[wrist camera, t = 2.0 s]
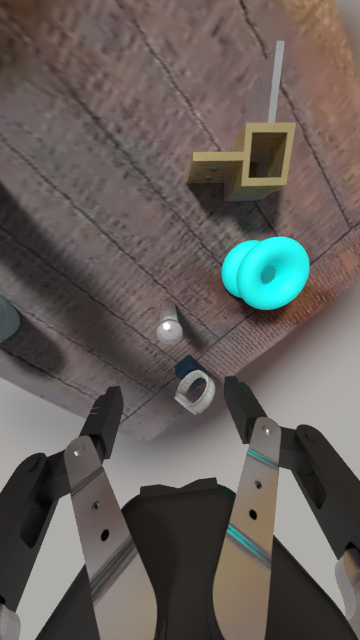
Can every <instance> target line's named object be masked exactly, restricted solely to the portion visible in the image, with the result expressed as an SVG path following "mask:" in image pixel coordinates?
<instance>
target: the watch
mask: <svg viewBox="0 0 360 640" xmlns="http://www.w3.org/2000/svg"><path fill="white" fill-rule="evenodd" d="M175 371H176V376H177V377H179V378H180V379H181V380H182V381H183V382H182V381H181V383H180V385H179V387H178V390H177V391H176V397H174V398H175V399H176V400H177V401H178V402H179V403H180V404H181V405H182V406H183V407H184V408H186V409H187V410H188V411H190V412H191V413H193V414H194V415H196V413H201V412H202V411H203V410H205V409H206V408H207V407H208V406H209V405H210V403H211V402H212V400H213V397H214V394H215V384H214V381H213V380H212V379H211V378H210V377H209V376H208V375H207V373H206V371H205V368H204V367H203V366H201V365H200V364H199V363H198V362H197V361H196V360H195V359H194V358H193V357H191V356H190V355H188V356H187V357H185V358H184V359H183V360H182V361H181V362H179V363H178V364H177V365H176V366H175ZM204 380H206V381H207V387H206V389H205V391H204V393H203V394H202V396H201V397H200V398H199V400H197V401H196V402H195V403H193V402H192V401H191V400H190V399H188V398H187V397H186V394H187V390H188V389H189V387H191V388H192V389H194V388H195V387H197V386H198V385H199V384H200V383H202V382H203V381H204ZM208 398H209V399H208ZM203 401H204V402H203ZM209 401H210V402H209Z"/></svg>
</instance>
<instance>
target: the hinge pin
mask: <svg viewBox="0 0 360 640" xmlns="http://www.w3.org/2000/svg"><path fill="white" fill-rule="evenodd" d="M182 335H183V331H182V327H181V325H180V323H179V322H178V317H177V312H176V306H175V303H174V302H173V301H172V300H169V299H168V300H164V301H163V302H162V304H161V313H160V324H159V325H158V327H157V337H158V339H159V341H160V342H162V343H164V344H167V345H172V344H175V343H177V342H179V341H180V339H181V338H182Z"/></svg>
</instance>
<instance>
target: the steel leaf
mask: <svg viewBox="0 0 360 640" xmlns="http://www.w3.org/2000/svg"><path fill="white" fill-rule="evenodd" d="M284 42H285V41H277V42H276V43H275V45H274V47H273V49H272V51H271V53H270V55H269V57H268V59H267V60H266V62H265V64H264V66H263V68H262V70H261V72H260V74H259V76H258V78H257V79H256V81H255V83H254V85H253V87H252V89H251V91H250V93H249V95H248V96H247V98H246V106H245V120H244V125H245V124H246V123H275V116H276V108H277V99H278V91H279V83H280V75H281V67H282V58H283V50H284ZM228 152H234V143H233V145H232V146H231V148H230V149H229V151H228ZM269 157H270V149H251V153H250V162H257V170H256V178H267V173H268V165H269ZM232 174H233V173H232ZM232 174H231V175H230V177H229V178H228V179H227V180H226V181H225V183H224V202H227V201H258V200H260V199H262V198H264V197H266V196H267V195H269V194H246V195H231V191H232Z"/></svg>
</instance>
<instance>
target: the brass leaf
mask: <svg viewBox="0 0 360 640" xmlns="http://www.w3.org/2000/svg"><path fill="white" fill-rule="evenodd" d="M295 125H296V123H246V124H245V125H244V127H243V129H242V130H241V132H240V133H239V135H238V137H237V138H236V140H235V141H234V152H193V154H192V158H191V162H190V165H189V169H188V172H187V176H186V183H225V181H226V180H227V179H228V178H229V177H230V175H231V174H232V173H233V174H232V191H231V195H246V194H271V193H273V192H275V191H276V190H278V189H280V188H282V187H284V186H285V185H286V183H287V177H288V170H289V164H290V157H291V151H292V144H293V138H294V132H295ZM251 149H270V157H269V165H268V173H267V178H248V176H249V164H250V153H251Z"/></svg>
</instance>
